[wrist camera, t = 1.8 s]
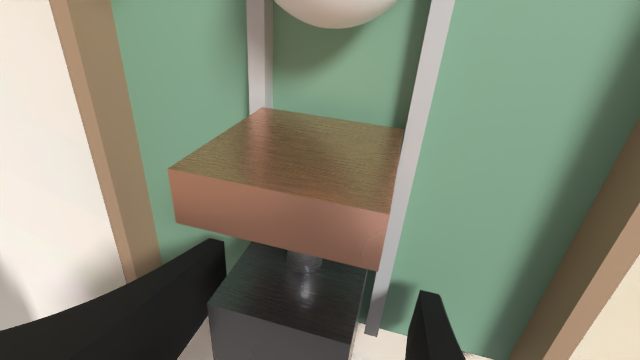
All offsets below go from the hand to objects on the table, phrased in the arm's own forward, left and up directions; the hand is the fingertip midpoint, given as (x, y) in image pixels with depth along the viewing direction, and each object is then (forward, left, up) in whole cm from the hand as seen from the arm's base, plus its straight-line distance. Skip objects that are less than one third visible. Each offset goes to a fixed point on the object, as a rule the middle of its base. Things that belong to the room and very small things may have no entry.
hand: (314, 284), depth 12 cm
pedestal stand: (+2, 0, -1) cm, 2 cm away
